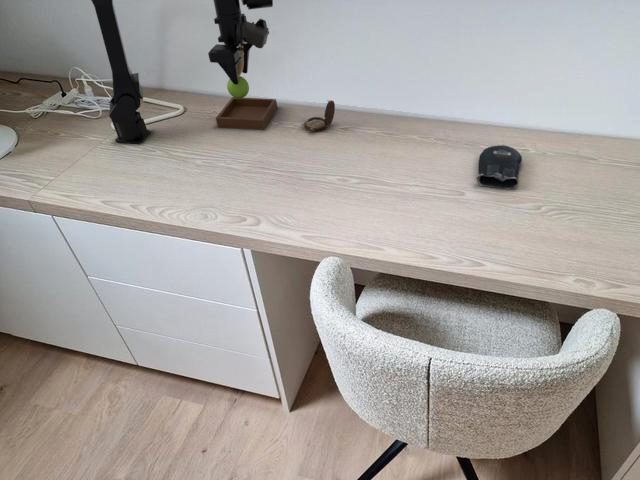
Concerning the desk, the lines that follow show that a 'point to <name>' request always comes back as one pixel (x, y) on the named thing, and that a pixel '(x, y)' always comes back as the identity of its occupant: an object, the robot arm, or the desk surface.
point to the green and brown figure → (239, 81)
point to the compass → (321, 119)
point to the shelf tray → (247, 113)
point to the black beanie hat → (499, 167)
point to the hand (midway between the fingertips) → (240, 78)
